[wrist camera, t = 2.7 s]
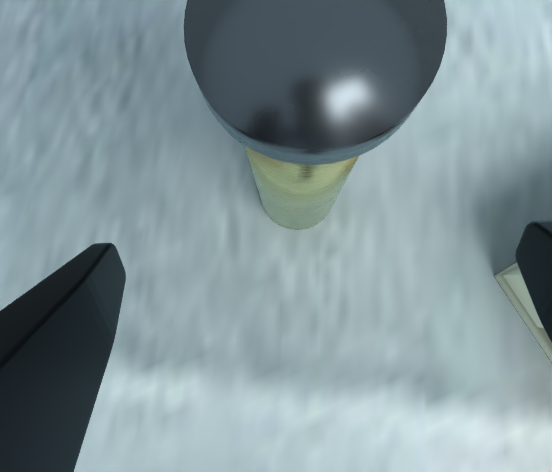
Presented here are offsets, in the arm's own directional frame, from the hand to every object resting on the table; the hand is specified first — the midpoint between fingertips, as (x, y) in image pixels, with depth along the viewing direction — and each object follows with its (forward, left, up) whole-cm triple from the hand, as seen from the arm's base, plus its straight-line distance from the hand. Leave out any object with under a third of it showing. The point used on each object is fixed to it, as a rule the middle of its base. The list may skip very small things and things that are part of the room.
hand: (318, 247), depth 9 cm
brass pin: (+2, +3, -11) cm, 11 cm away
